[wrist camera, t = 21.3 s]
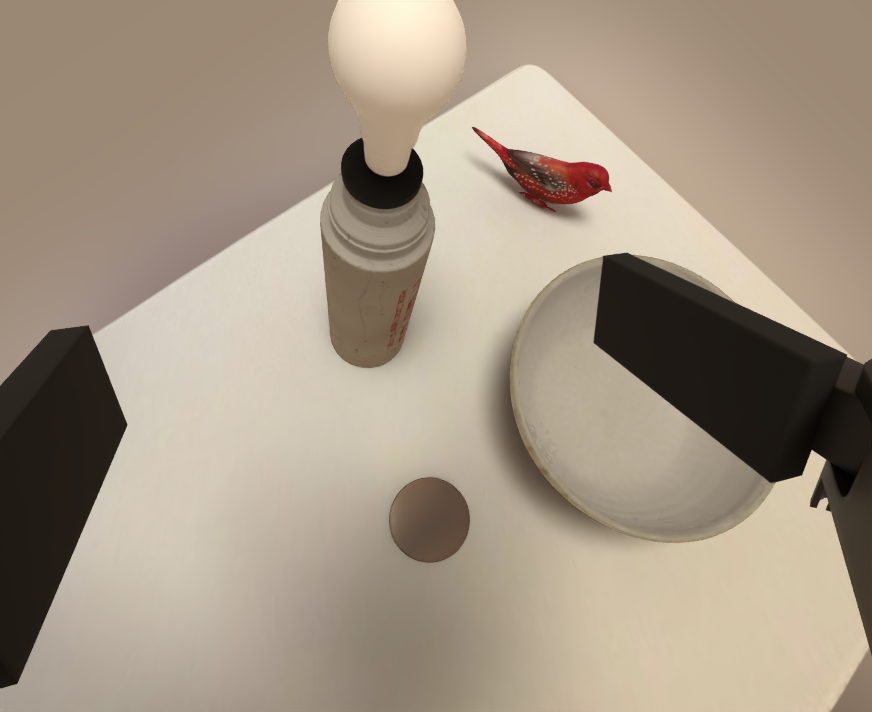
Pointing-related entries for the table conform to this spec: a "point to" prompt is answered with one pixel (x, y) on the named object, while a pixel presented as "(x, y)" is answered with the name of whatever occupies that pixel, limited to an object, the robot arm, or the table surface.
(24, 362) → the robot arm
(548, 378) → the decorative bowl
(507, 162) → the decorative bird figurine
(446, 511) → the walnut coaster
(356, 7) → the lightbulb
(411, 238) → the thermos bottle
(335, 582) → the table surface
